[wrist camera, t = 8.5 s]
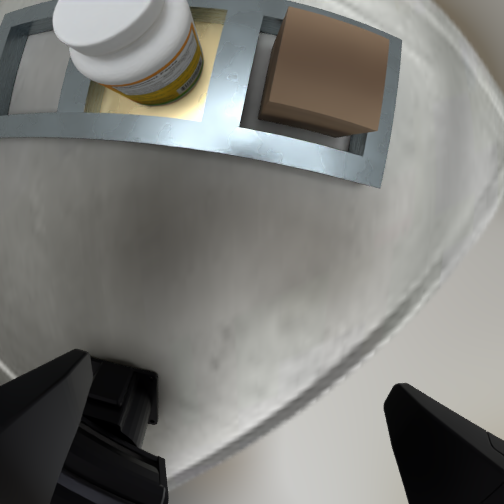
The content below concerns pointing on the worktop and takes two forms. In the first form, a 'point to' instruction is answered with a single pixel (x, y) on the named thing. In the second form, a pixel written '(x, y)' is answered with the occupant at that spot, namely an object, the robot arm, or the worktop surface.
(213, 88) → the rail
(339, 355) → the worktop surface
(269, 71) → the walnut block
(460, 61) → the worktop surface
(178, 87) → the supplement bottle
